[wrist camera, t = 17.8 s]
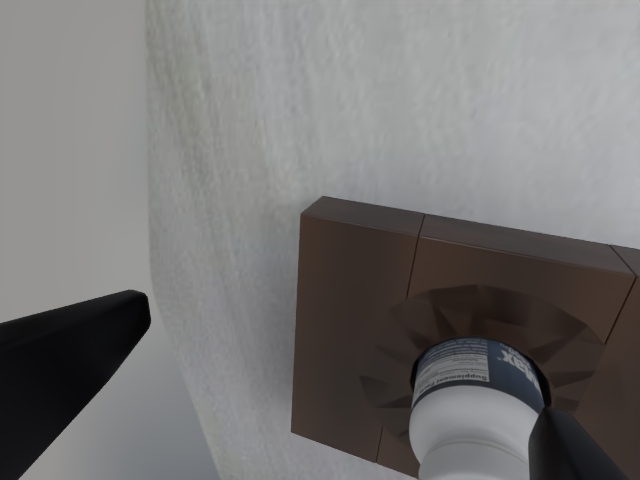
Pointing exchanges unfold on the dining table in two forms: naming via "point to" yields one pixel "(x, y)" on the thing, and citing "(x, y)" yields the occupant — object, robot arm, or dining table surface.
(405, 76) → the dining table surface
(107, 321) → the robot arm
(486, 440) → the pill bottle
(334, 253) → the socket pad
